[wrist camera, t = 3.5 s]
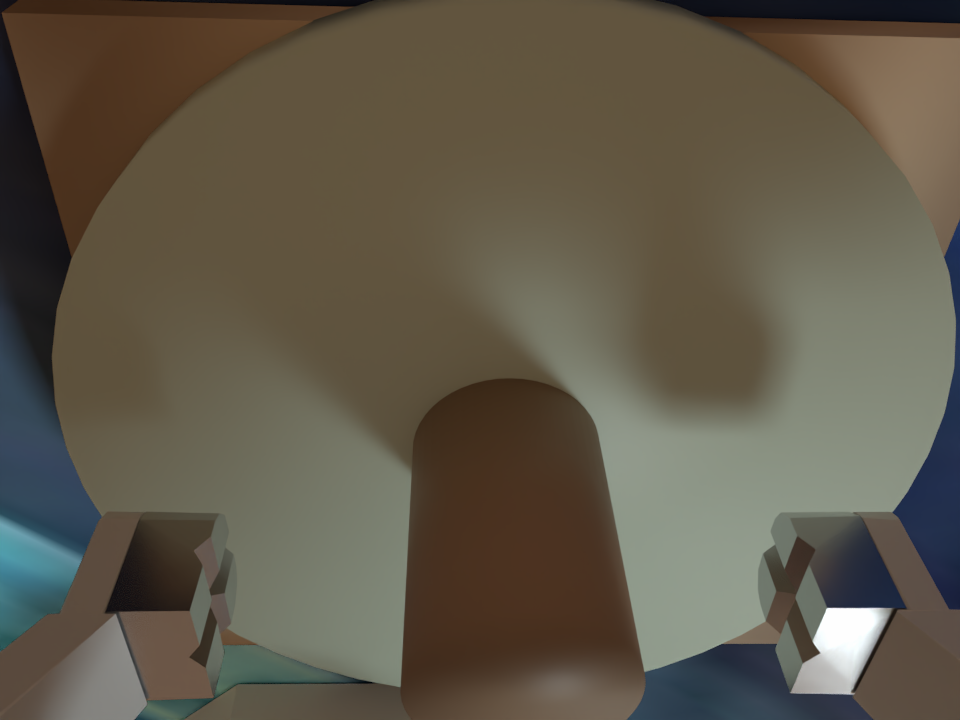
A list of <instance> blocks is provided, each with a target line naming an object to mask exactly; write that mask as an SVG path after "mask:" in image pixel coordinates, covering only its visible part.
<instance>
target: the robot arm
mask: <svg viewBox="0 0 960 720" xmlns="http://www.w3.org/2000/svg"><path fill="white" fill-rule="evenodd" d="M770 532H771V534H772V537H773V540H774V542H775V545H773V546H772V547H771V548H769V549H768V550H767V551H765V552H764V553H763V555H762V558H761V562H760V565H759V568H758V594H759V600H760V605H761V608H762V611H763V614H764V617H765V620H766V622H768V623H769V624H770V625H771V626H772V627H773V628H774V629H775V630H777V631H778V632H779V633H780V634H781V636H780V638H779V641H778V644H777V646H776V649H775V650H776V653H777V656H778V659H779V661H780V664H781V667H782V670H783V673H784V676H785V679H786V682H787V684H788V687H789V690H790V693H812V694H854V696H853V698H854V699H855V700H856V701H857V702H858V703H859V704H860V706H861V707H862V708H863V709H864V710H865V711H866V712H867V713H868V714H869V715H870V716H871V717H872V718H873V719H874V720H960V610H949V608H948V607H947V605H946V603H945V601H944V599H943V598H942V596H941V594H940V592H939V590H938V589H937V587H936V585H935V583H934V581H933V580H932V578H931V576H930V574H929V572H928V570H927V569H926V567H925V565H924V563H923V561H922V560H921V558H920V556H919V554H918V552H917V551H916V549H915V547H914V545H913V543H912V542H911V540H910V538H909V536H908V534H907V533H906V531H905V529H904V527H903V525H902V524H901V522H900V520H899V518H898V517H897V516H896V515H894V514H893V513H892V512H853V513H851V512H781V513H780V514H779V515H778V516H777V517H776V518H775V520H774V523H773V526H772V528H771V531H770ZM228 534H229V529H228V526H227V522H226V518H225V515H223V514H220V513H184V512H117V511H107V512H106V513H105V515H104V516H103V517H102V518H101V519H100V520H99V521H98V523H97V526H96V528H95V530H94V533H93V535H92V537H91V540H90V542H89V545H88V547H87V549H86V552H85V554H84V556H83V559H82V561H81V563H80V566H79V568H78V571H77V573H76V575H75V578H74V580H73V582H72V585H71V587H70V589H69V592H68V594H67V596H66V599H65V601H64V604H63V606H62V608H61V611H60V613H59V614H47V615H46V616H44V617H43V618H42V619H41V620H39V621H38V622H37V623H36V624H34V625H33V626H32V627H31V628H30V629H28V630H27V631H26V632H25V633H23V634H22V635H21V636H20V637H18V638H17V639H16V640H15V641H13V642H12V643H11V644H10V645H8V646H7V647H6V648H5V649H3V650H2V651H1V652H0V720H134V719H135V718H136V717H137V716H138V715H139V714H140V713H141V711H142V710H143V709H144V708H145V707H146V706H147V701H146V700H172V699H200V698H214V694H215V690H216V686H217V682H218V678H219V673H220V669H221V665H222V661H223V657H224V649H223V645H222V641H221V636H220V634H221V633H222V632H223V631H224V630H225V629H226V628H227V627H228V626H229V625H230V624H231V622H232V617H233V613H234V608H235V602H236V590H237V571H236V563H235V558H234V554H233V553H232V552H230V551H229V550H228V549H227V548H225V546H226V542H227V538H228Z"/></svg>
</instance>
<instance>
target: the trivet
mask: <svg viewBox="0 0 960 720" xmlns="http://www.w3.org/2000/svg"><path fill="white" fill-rule="evenodd" d="M349 8H352V7H338V6H302V5H265V4H229V3H192V2H156V1H119V0H18V1H17V2H16V3H14V4H13V5H11V6H10V7H9V8H7V9H6V10H5V11H3V12H2V16H3V20H4V23H5V27H6V30H7V34H8V37H9V41H10V44H11V48H12V51H13V55H14V58H15V62H16V65H17V69H18V72H19V76H20V79H21V82H22V86H23V89H24V93H25V96H26V100H27V103H28V107H29V110H30V114H31V117H32V121H33V124H34V128H35V131H36V135H37V138H38V142H39V145H40V149H41V152H42V156H43V159H44V163H45V166H46V170H47V173H48V177H49V180H50V183H51V187H52V190H53V194H54V197H55V201H56V204H57V208H58V211H59V215H60V218H61V222H62V225H63V229H64V232H65V236H66V239H67V243H68V246H69V250H70V253H71V257H73V255H74V253H75V251H76V249H77V247H78V245H79V243H80V241H81V239H82V237H83V235H84V233H85V231H86V229H87V227H88V225H89V223H90V221H91V219H92V217H93V215H94V213H95V211H96V209H97V208H98V206H99V205H100V203H101V202H102V200H103V199H104V197H105V196H106V194H107V193H108V191H109V190H110V188H111V187H112V185H113V184H114V183H115V181H116V180H117V178H118V177H119V176H120V174H121V173H122V172H123V170H124V169H125V168H126V166H127V165H128V164H129V162H130V161H131V160H132V158H133V157H134V156H135V154H136V153H137V152H138V150H139V149H140V148H141V146H142V145H143V144H144V142H145V141H146V140H147V138H148V137H149V136H150V134H151V133H152V132H153V131H154V130H155V129H156V128H157V127H158V126H159V125H160V124H161V123H162V122H163V121H164V120H165V119H167V118H168V117H169V116H170V115H171V114H172V113H173V112H174V111H175V110H176V109H177V108H178V107H179V106H180V105H181V104H182V103H183V102H184V101H185V100H186V99H187V98H188V97H189V96H190V95H192V94H193V93H194V92H195V91H196V90H197V89H198V88H200V87H201V86H203V85H204V84H205V83H207V82H208V81H210V80H211V79H213V78H214V77H216V76H217V75H218V74H220V73H221V72H223V71H224V70H226V69H227V68H228V67H230V66H231V65H233V64H234V63H236V62H237V61H238V60H240V59H241V58H243V57H244V56H246V55H247V54H248V53H250V52H252V51H254V50H256V49H258V48H260V47H262V46H264V45H266V44H268V43H270V42H272V41H274V40H276V39H278V38H280V37H282V36H284V35H286V34H288V33H290V32H292V31H294V30H296V29H298V28H300V27H302V26H304V25H306V24H308V23H310V22H312V21H313V20H316V19H319V18H322V17H325V16H328V15H331V14H334V13H337V12H340V11H343V10H346V9H349ZM706 18H709V19H711V20H714V21H716V22H718V23H721V24H723V25H726V26H728V27H731V28H733V29H736V30H738V31H741V32H742V33H744V34H745V35H747V36H749V37H750V38H752V39H754V40H755V41H757V42H759V43H760V44H762V45H764V46H765V47H767V48H769V49H770V50H772V51H774V52H775V53H777V54H778V55H780V56H782V57H783V58H785V59H787V60H788V61H790V62H792V63H793V64H795V65H797V66H798V67H799V68H800V69H802V70H803V71H804V72H805V73H806V74H808V75H809V76H810V77H811V78H812V79H813V80H815V81H816V82H817V83H818V84H819V85H820V86H822V87H823V88H824V89H825V90H826V91H828V92H829V93H830V94H831V95H832V96H833V97H835V98H836V99H837V100H838V101H839V102H841V103H842V104H843V105H844V106H845V107H846V108H847V109H848V110H849V111H850V112H851V114H852V115H853V116H854V117H855V118H856V119H857V120H858V121H859V122H860V123H861V124H862V125H863V126H864V128H865V129H866V130H867V131H868V132H869V133H870V134H871V136H872V137H873V138H874V139H875V140H876V142H877V143H878V144H879V145H880V146H881V147H882V149H883V150H884V151H885V152H886V153H887V155H888V156H889V157H890V158H891V159H892V161H893V162H894V163H895V164H896V165H897V167H898V168H899V169H900V170H901V171H902V173H903V174H904V175H905V176H906V178H907V180H908V182H909V183H910V185H911V187H912V189H913V190H914V192H915V194H916V196H917V198H918V199H919V201H920V203H921V205H922V206H923V208H924V210H925V212H926V213H927V215H928V217H929V219H930V220H931V222H932V224H933V227H934V230H935V233H936V236H937V239H938V242H939V245H940V248H941V251H942V253H943V256H945V253H946V251H947V248H948V246H949V243H950V241H951V239H952V236H953V234H954V231H955V229H956V226H957V224H958V221H959V219H960V24H958V23H922V22H885V21H849V20H812V19H776V18H739V17H706ZM220 636H221V641H222V645H258V644H256V643H254V642H252V641H250V640H247V639H245V638H243V637H241V636H239V635H237V634H235V633H234V632H232V631H230V630H229V629H227V628H226V629H225V630H224V631H223V632H222V633H221V634H220ZM780 636H781V634H780V633H779V632H778V631H777V630H775V629H774V628H773V627H772V626H771V625H770V624H769V623H768V622H764V623H762V624H760V625H758V626H757V627H755V628H753V629H751V630H749V631H748V632H746V633H744V634H742V635H740V636H738V637H736V638H734V639H731V640H729V641H727V642H725V643H722V644H778V641H779V638H780Z"/></svg>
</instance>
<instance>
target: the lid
mask: <svg viewBox="0 0 960 720" xmlns="http://www.w3.org/2000/svg"><path fill="white" fill-rule="evenodd" d="M955 332H956V318H955V311H954V304H953V297H952V290H951V283H950V276H949V271H948V268H947V265H946V262H945V259H944V256H943V253H942V251H941V248H940V245H939V242H938V239H937V236H936V233H935V230H934V227H933V224H932V222H931V220H930V219H929V217H928V215H927V213H926V212H925V210H924V208H923V206H922V205H921V203H920V201H919V199H918V198H917V196H916V194H915V192H914V190H913V189H912V187H911V185H910V183H909V182H908V180H907V178H906V176H905V175H904V174H903V173H902V171H901V170H900V169H899V168H898V167H897V165H896V164H895V163H894V162H893V161H892V159H891V158H890V157H889V156H888V155H887V153H886V152H885V151H884V150H883V149H882V147H881V146H880V145H879V144H878V143H877V142H876V140H875V139H874V138H873V137H872V136H871V134H870V133H869V132H868V131H867V130H866V129H865V128H864V126H863V125H862V124H861V123H860V122H859V121H858V120H857V119H856V118H855V117H854V116H853V115H852V114H851V112H850V111H849V110H848V109H847V108H846V107H845V106H844V105H843V104H842V103H841V102H839V101H838V100H837V99H836V98H835V97H833V96H832V95H831V94H830V93H829V92H828V91H826V90H825V89H824V88H823V87H822V86H820V85H819V84H818V83H817V82H816V81H815V80H813V79H812V78H811V77H810V76H809V75H808V74H806V73H805V72H804V71H803V70H802V69H800V68H799V67H798V66H797V65H795V64H793V63H792V62H790V61H788V60H787V59H785V58H783V57H782V56H780V55H778V54H777V53H775V52H774V51H772V50H770V49H769V48H767V47H765V46H764V45H762V44H760V43H759V42H757V41H755V40H754V39H752V38H750V37H749V36H747V35H745V34H744V33H742V32H741V31H738V30H736V29H733V28H731V27H728V26H726V25H723V24H721V23H718V22H716V21H714V20H711V19H709V18H706V17H704V16H701V15H699V14H696V13H694V12H692V11H689V10H687V9H684V8H682V7H679V6H677V5H673V4H669V3H665V2H660V1H656V0H373V1H370V2H367V3H364V4H361V5H358V6H355V7H352V8H349V9H346V10H343V11H340V12H337V13H334V14H331V15H328V16H325V17H322V18H319V19H316V20H313V21H312V22H310V23H308V24H306V25H304V26H302V27H300V28H298V29H296V30H294V31H292V32H290V33H288V34H286V35H284V36H282V37H280V38H278V39H276V40H274V41H272V42H270V43H268V44H266V45H264V46H262V47H260V48H258V49H256V50H254V51H252V52H250V53H248V54H247V55H246V56H244V57H243V58H241V59H240V60H238V61H237V62H236V63H234V64H233V65H231V66H230V67H228V68H227V69H226V70H224V71H223V72H221V73H220V74H218V75H217V76H216V77H214V78H213V79H211V80H210V81H208V82H207V83H205V84H204V85H203V86H201V87H200V88H198V89H197V90H196V91H195V92H194V93H193V94H192V95H190V96H189V97H188V98H187V99H186V100H185V101H184V102H183V103H182V104H181V105H180V106H179V107H178V108H177V109H176V110H175V111H174V112H173V113H172V114H171V115H170V116H169V117H168V118H167V119H165V120H164V121H163V122H162V123H161V124H160V125H159V126H158V127H157V128H156V129H155V130H154V131H153V132H152V133H151V134H150V136H149V137H148V138H147V140H146V141H145V142H144V144H143V145H142V146H141V148H140V149H139V150H138V152H137V153H136V154H135V156H134V157H133V158H132V160H131V161H130V162H129V164H128V165H127V166H126V168H125V169H124V170H123V172H122V173H121V174H120V176H119V177H118V178H117V180H116V181H115V183H114V184H113V185H112V187H111V188H110V190H109V191H108V193H107V194H106V196H105V197H104V199H103V200H102V202H101V203H100V205H99V206H98V208H97V209H96V211H95V213H94V215H93V217H92V219H91V221H90V223H89V225H88V227H87V229H86V231H85V233H84V235H83V237H82V239H81V241H80V243H79V245H78V247H77V249H76V251H75V253H74V255H73V257H72V259H71V262H70V266H69V269H68V273H67V276H66V279H65V283H64V286H63V289H62V293H61V296H60V299H59V303H58V306H57V312H56V322H55V331H54V341H53V350H52V367H53V380H54V394H55V405H56V409H57V412H58V416H59V420H60V424H61V428H62V432H63V436H64V440H65V444H66V448H67V450H68V452H69V455H70V457H71V459H72V462H73V464H74V466H75V468H76V471H77V473H78V475H79V478H80V480H81V482H82V485H83V487H84V489H85V490H86V492H87V494H88V495H89V497H90V498H91V500H92V502H93V503H94V505H95V506H96V508H97V510H98V511H99V513H100V514H101V516H102V517H103V516H104V515H105V513H106V512H107V511H117V512H184V513H220V514H223V515H225V518H226V522H227V526H228V529H229V534H228V538H227V542H226V546H225V548H227V549H228V550H229V551H230V552H232V553H233V554H234V558H235V563H236V571H237V590H236V602H235V608H234V613H233V617H232V622H231V624H230V625H229V626H228V627H227V629H229V630H230V631H232V632H234V633H235V634H237V635H239V636H241V637H243V638H245V639H247V640H250V641H252V642H254V643H256V644H258V645H260V646H262V647H265V648H267V649H269V650H271V651H273V652H275V653H277V654H280V655H283V656H286V657H288V658H291V659H294V660H297V661H299V662H302V663H305V664H308V665H310V666H313V667H316V668H319V669H323V670H326V671H330V672H334V673H337V674H341V675H345V676H348V677H352V678H356V679H359V680H365V681H370V682H375V683H381V684H386V685H391V686H397V687H401V688H400V694H401V701H402V704H403V706H404V709H405V711H406V712H407V714H408V716H409V717H410V719H411V720H626V719H627V718H628V717H629V716H630V715H631V714H632V713H633V712H634V711H635V709H636V708H637V706H638V705H639V703H640V701H641V699H642V696H643V694H644V690H645V673H644V672H646V671H649V670H653V669H657V668H660V667H663V666H666V665H669V664H672V663H674V662H677V661H680V660H683V659H686V658H689V657H691V656H694V655H697V654H700V653H702V652H705V651H707V650H709V649H711V648H714V647H716V646H718V645H720V644H722V643H725V642H727V641H729V640H731V639H734V638H736V637H738V636H740V635H742V634H744V633H746V632H748V631H749V630H751V629H753V628H755V627H757V626H758V625H760V624H762V623H764V622H766V620H765V617H764V614H763V611H762V608H761V605H760V600H759V594H758V568H759V565H760V562H761V558H762V555H763V553H764V552H765V551H767V550H768V549H769V548H771V547H772V546H773V545H775V542H774V540H773V537H772V534H771V532H770V531H771V528H772V526H773V523H774V520H775V518H776V517H777V516H778V515H779V514H780V513H781V512H851V513H853V512H893V511H894V509H895V508H896V507H897V505H898V504H899V503H900V501H901V500H902V499H903V497H904V496H905V495H906V493H907V492H908V490H909V488H910V486H911V485H912V483H913V481H914V479H915V477H916V476H917V474H918V472H919V470H920V468H921V467H922V465H923V463H924V461H925V460H926V458H927V456H928V454H929V452H930V449H931V446H932V444H933V441H934V439H935V436H936V433H937V431H938V428H939V426H940V423H941V420H942V418H943V415H944V413H945V408H946V404H947V399H948V394H949V389H950V385H951V380H952V375H953V371H954V358H955Z"/></svg>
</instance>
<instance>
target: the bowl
mask: <svg viewBox="0 0 960 720" xmlns="http://www.w3.org/2000/svg"><path fill="white" fill-rule="evenodd" d="M400 688H401V687H397V686H391V685H386V684H237V685H236V686H234V687H233V688H231V689H230V690H228V691H227V692H225V693H224V694H222V695H221V696H219V697H217V698H216V699H214V700H213V701H211V702H210V703H208V704H207V705H205V706H204V707H202V708H201V709H199V710H198V711H196V712H195V713H193V714H191V715H190V716H188V717H187V718H185V719H184V720H411V719H410V717H409V716H408V714H407V712H406V711H405V709H404V706H403V704H402V701H401V694H400Z"/></svg>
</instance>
